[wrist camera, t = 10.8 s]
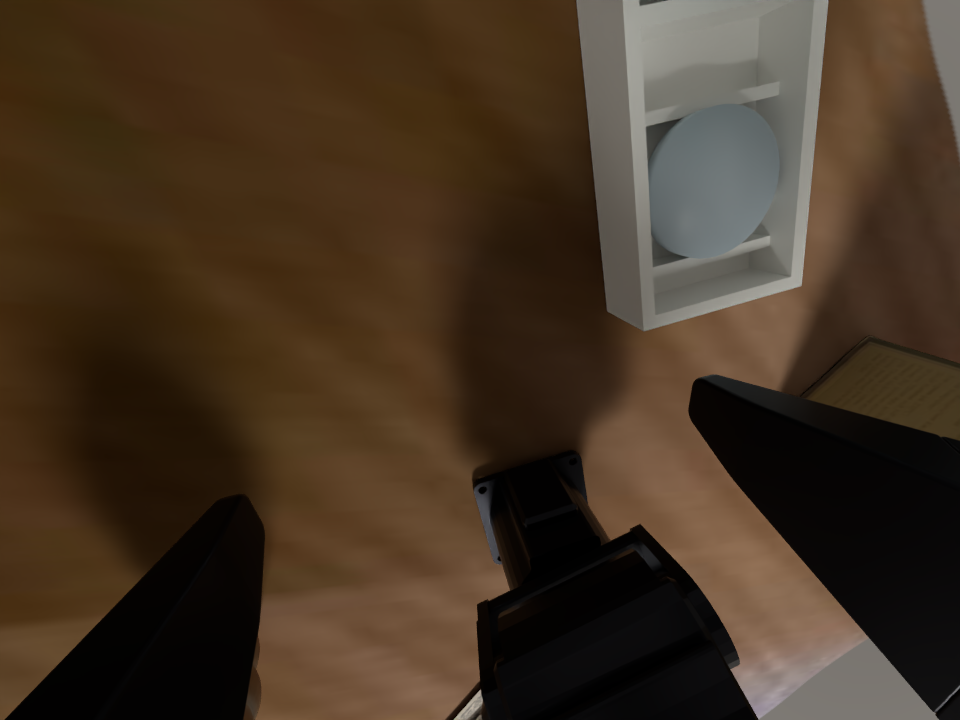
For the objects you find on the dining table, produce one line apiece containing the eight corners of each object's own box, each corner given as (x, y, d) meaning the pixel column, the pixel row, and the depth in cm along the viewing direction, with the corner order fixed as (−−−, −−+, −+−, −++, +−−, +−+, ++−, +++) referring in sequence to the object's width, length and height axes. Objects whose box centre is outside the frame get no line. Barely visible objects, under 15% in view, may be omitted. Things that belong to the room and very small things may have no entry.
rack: (744, 272, 23) (801, 286, 20) (607, 311, 22) (643, 331, 19) (763, -238, 15) (861, -351, 12) (555, -206, 15) (602, -319, 11)
